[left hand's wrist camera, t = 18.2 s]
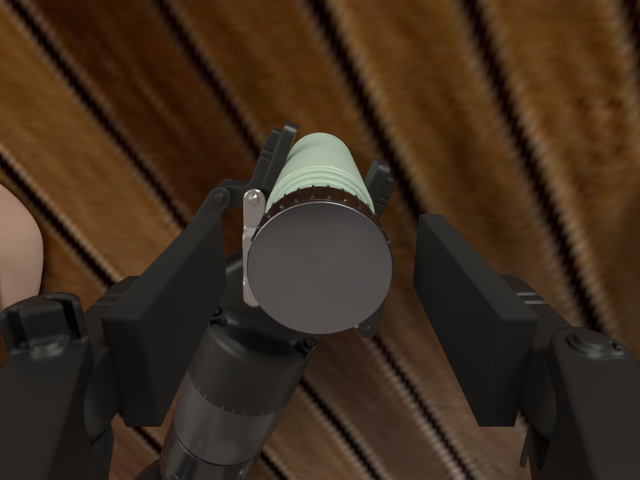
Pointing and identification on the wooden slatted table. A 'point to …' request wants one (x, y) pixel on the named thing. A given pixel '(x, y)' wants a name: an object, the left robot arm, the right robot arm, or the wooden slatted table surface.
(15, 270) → the anatomical model
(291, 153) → the bottle
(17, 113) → the wooden slatted table surface
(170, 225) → the wooden slatted table surface
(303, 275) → the cap
